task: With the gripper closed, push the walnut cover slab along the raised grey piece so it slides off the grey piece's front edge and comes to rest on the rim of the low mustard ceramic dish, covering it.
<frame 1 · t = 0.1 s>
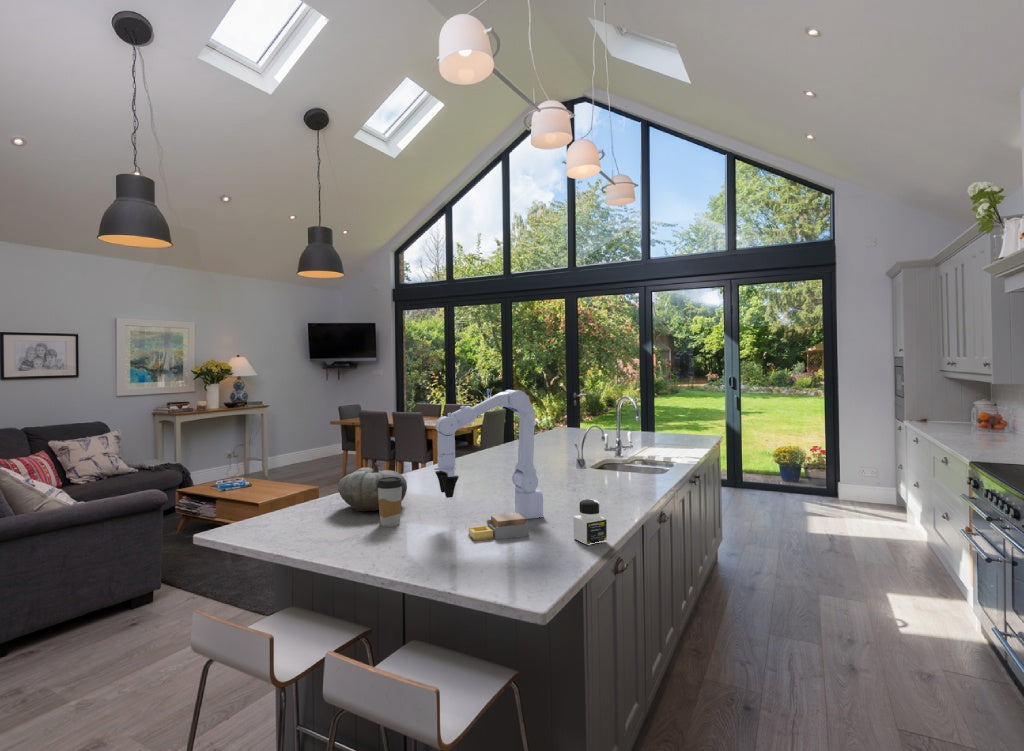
hand: (446, 494, 181), 10 cm above the worktop, fingers open, 7 cm apart
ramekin: (480, 536, 168), on the worktop
cover: (508, 524, 171), point 3 cm above the worktop, touching grey piece
gourd: (373, 508, 204), on the worktop
grey piece: (507, 533, 171), on the worktop
medicine bottle: (590, 541, 163), on the worktop
coffee cup: (390, 524, 183), on the worktop
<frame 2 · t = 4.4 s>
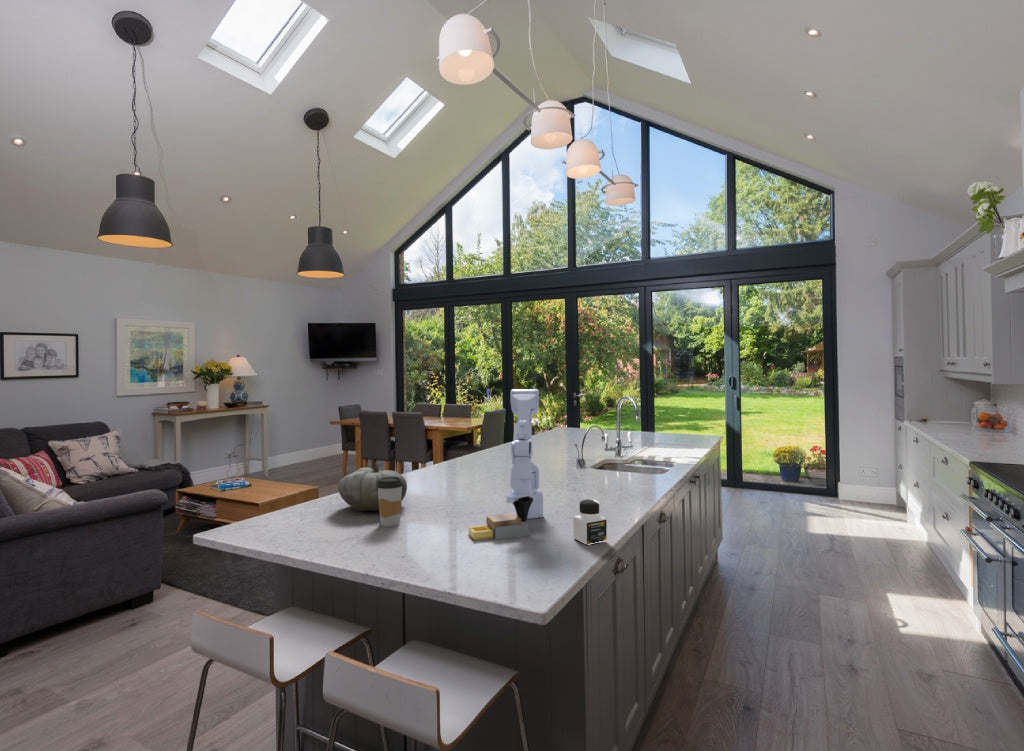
hand: (522, 521, 173), 3 cm above the worktop, fingers closed
cover: (503, 525, 171), point 3 cm above the worktop, touching gripper
everything else where it was.
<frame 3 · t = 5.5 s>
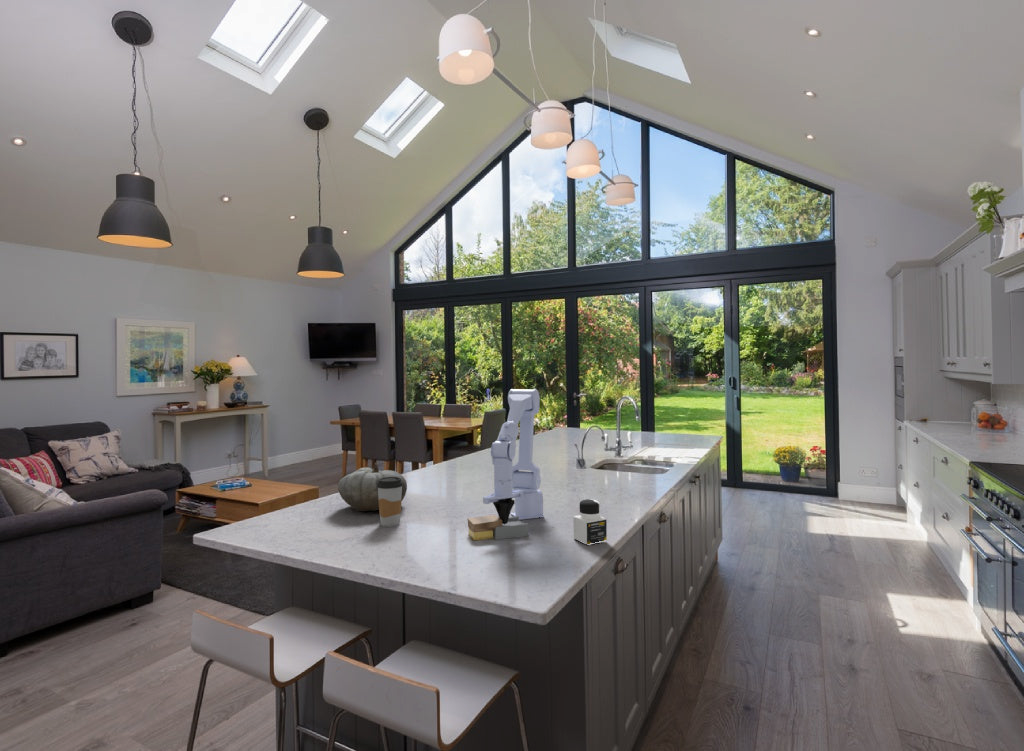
hand: (503, 523, 171), 3 cm above the worktop, fingers closed
cover: (485, 527, 169), point 3 cm above the worktop, touching gripper, grey piece
everything else where it was.
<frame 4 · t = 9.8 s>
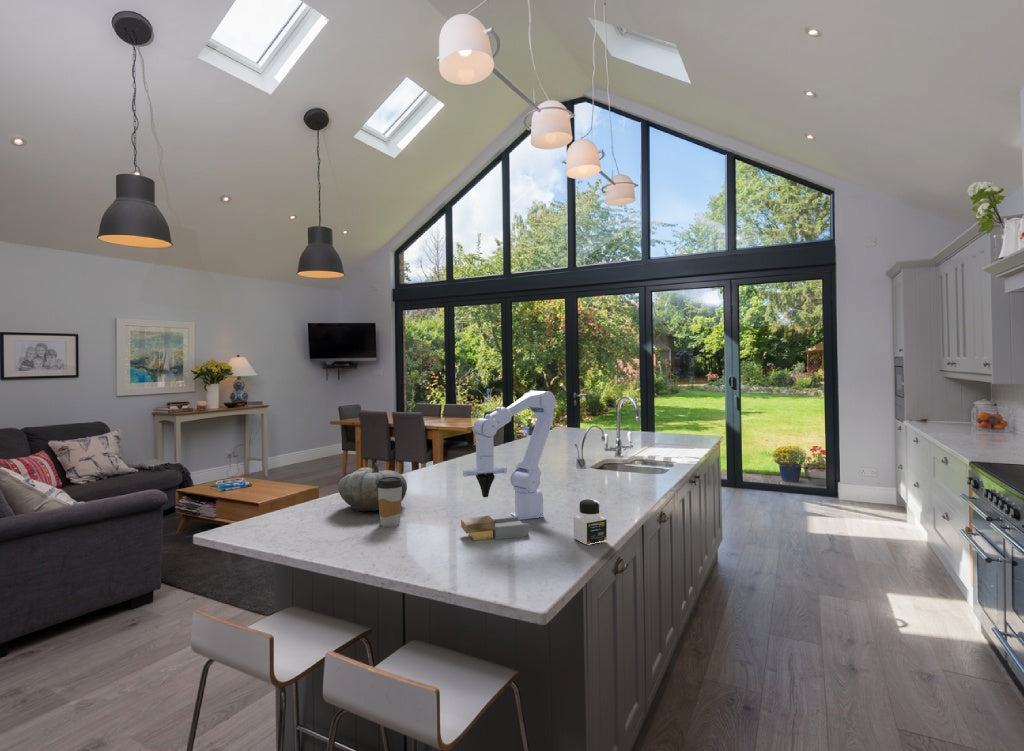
hand: (485, 496, 180), 9 cm above the worktop, fingers closed
cover: (478, 528, 169), point 2 cm above the worktop, touching grey piece, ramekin
everything else where it was.
at the end: cover 0.8 cm off-centre on the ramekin, point 2.5 cm above the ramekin's base; cover tilted 2°; cover moved 9.7 cm from its start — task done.
